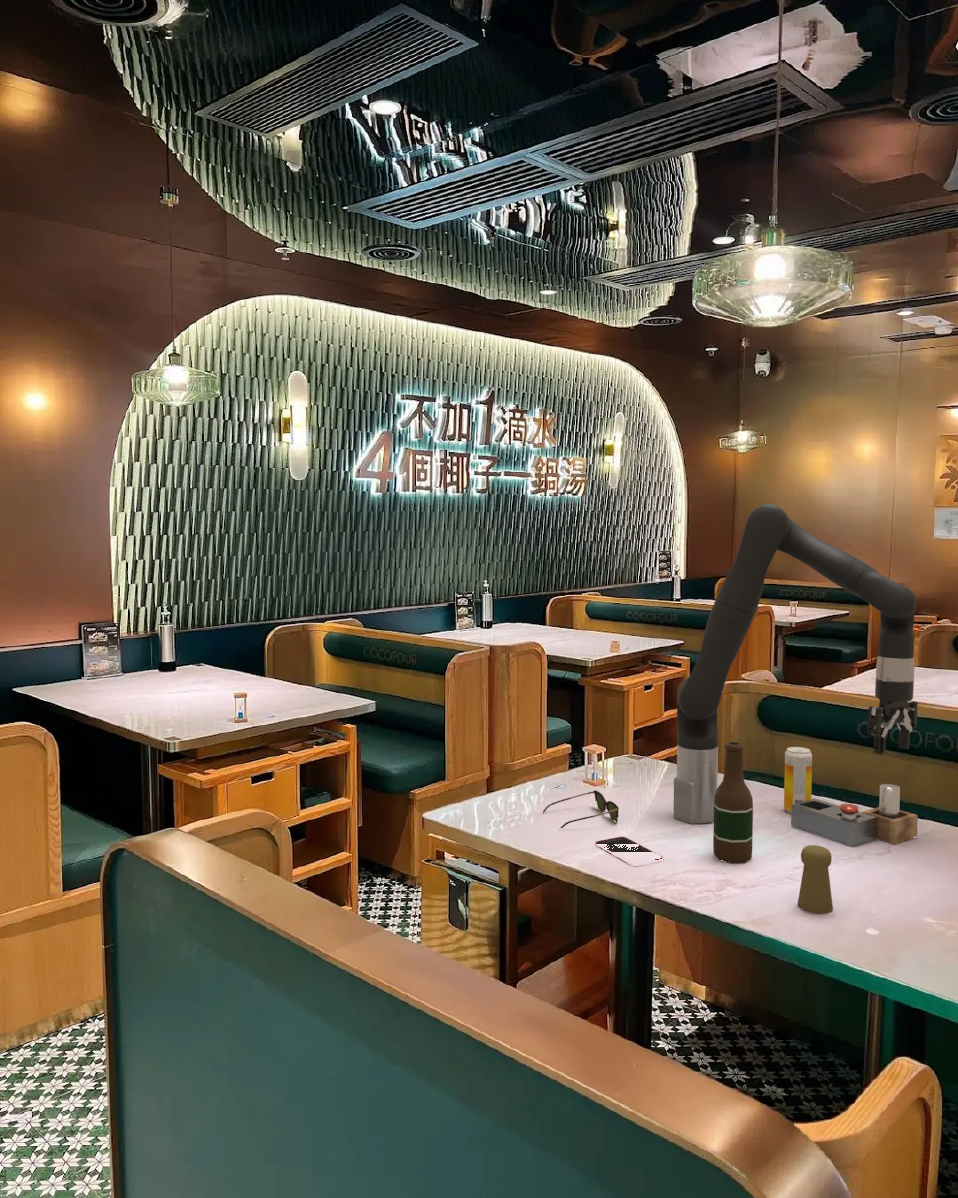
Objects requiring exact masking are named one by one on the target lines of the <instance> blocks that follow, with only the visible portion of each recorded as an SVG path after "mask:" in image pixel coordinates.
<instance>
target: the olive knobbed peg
mask: <svg viewBox="0 0 958 1198" xmlns="http://www.w3.org/2000/svg"><path fill="white" fill-rule="evenodd" d="M832 857H833V856H832V853H831V851H830V850H829V849H828V848H826V847H825V846H823V845H819V844H818V845H817V844H816V845H815V844H812V845H811V844H810V845H806V846H804V847H803V848H802V849H801V853H800V859H801V862H802V864H803V867H802V875H801V882H800V888H799V893H798V898H797V899H798V900H797V907H798V908H799V909H800V910H802V911H805V912H806V913H810V914H815V915H824V914H825V915H826V914H830V913H832V912H834V911H833V910H834V905H833V898H832V890H831V889H832V888H831V880H830V873H829V872H830V871H829V867H830V866H831V863H832Z"/></svg>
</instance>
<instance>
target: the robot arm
mask: <svg viewBox="0 0 958 1198" xmlns="http://www.w3.org/2000/svg"><path fill="white" fill-rule="evenodd" d="M777 551H779V552H782V553H784V554H786V555H789V556H791V557H793V558H794V559H796V560H798V561H799V562H801V563H803V564H805V565H807V566H808V567H809V568H811V569H812V570H814V571H815V572H817V573H818V574H820V575H821V576H823V577H824V578H826V579H827V580H828V581H830V582H831V583H834V584H835V585H837V586H838V587H840V588H842V590H843V589H844V590H845V591H847V592H849V593H851V594H852V595H854V596H856V597H858V598H861V599H862V600H863V601H865V603H868V605H870V606H872V607H873V608H875V609H876V610H877V611H878V612H880V613H879V614H880V617H879V618H880V621H879V623H880V631H879V636H878V644H877V645H878V646H877V661H876V663H875V664H876V666H875V667H876V668H875V687H874V688H875V690H874V691H875V692H874V696H875V698H877V699H878V701H879V704H878V706H872V705H870V706H869V707H868V715H867V729H866V732H867V734H869V735H872V736H873V752H874V753H875V754H878V755H884V754H886V743H887V741H886V740H887V738H886V735H888V731H889V730H891V729H892V728H893V726H895V725H896V726H897V727H898V729H899V730H898V738H897V740H898V743H897V746H898V748H899V749H904V750H908V749H909V748H910V742H911V741H910V737H911V732H913V729H916V728H918V702H917V701H915V700H913V699H914V685H915V684H914V683H915V662H914V655H915V635H914V624H915V623H914V622H915V611H916V608H917V597H916V595H915V592H914V591H913V590H912V589H911V588H910V587H909V586H907V585H904V584H900V583H898V582H895V580H892V579H890V578H888V577H886V576H884V575H883V574H881V573H879V571H878V570H876V569H875V568H874V567H872V566H871V565H869V564H867V563H866V562H864V561H862V560H860V559H859V558H857V557H855V556H854V555H852V554H850V553H848V552H846V551H844V550H843V549H840V548H838V547H836V546H834V545H832V544H829V543H828V542H825V541H823V540H822V539H821V538H818V537H816V536H815V535H813V534H811V533H809V532H808V531H807V530H805V529H804V528H802V527H801V526H800V525H799V524H797V522H795V521H794V520H793V519H791V518H790V517H789V516H788V514H787V513H786V511H785V510H784V509H783V508H781V507H780V506H778V505H776V504H771V503H765V504H761V505H759V506H757V507H755V508H754V509H752V511H751V512H750V513H749V514H748V517H747V519H746V523H745V526H744V530H743V534H742V538H741V541H740V545H739V547H738V551H737V553H736V556H735V559H734V562H733V563H732V565H731V567H730V569H729V571H728V573H727V575H726V577H725V579H724V580H723V582H722V584H721V587H720V590H718V591H719V592H718V594H717V595H716V598H715V600H714V603H713V605H712V608H711V611H710V613H709V616H708V618H707V622H706V626H705V630H704V633H703V638H702V642H701V643H702V644H701V648H700V652H699V654H698V658H697V660H696V663H695V665H694V666H693V669H692V671H691V673H690V675H689V676H688V677H686V678H684V679H683V680H682V681H681V683H680V684H679V685H678V687H677V693H676V694H677V695H676V736H677V737H676V741H677V743H676V745H677V747H676V751H677V752H676V753H677V754H676V776H675V777H674V778H673V818H675V819H677V820H680V821H684V822H685V823H688V824H690V825H694V824H709V823H714V797H715V793H716V790H717V788H718V782H719V781H718V775H719V773H718V770H719V769H718V767H719V764H718V762H719V761H718V759H719V732H718V731H719V729H718V708H719V705H720V702H721V699H722V694H723V692H724V688H725V683H726V681H727V678H728V675H729V672H730V669H731V666H732V665H733V662H734V661H735V659H736V657H737V656H738V652H739V651H740V648H741V647H742V645H743V643H744V641H745V638H746V636H747V634H748V632H749V630H750V628H751V625H752V623H753V621H754V618H755V615H756V613H757V610H758V607H759V604H760V599H761V596H762V593H763V588H764V584H765V580H766V574H767V572H768V570H769V567H770V564H771V562H772V560H773V558H774V557H775V554H776V552H777Z"/></svg>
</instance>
